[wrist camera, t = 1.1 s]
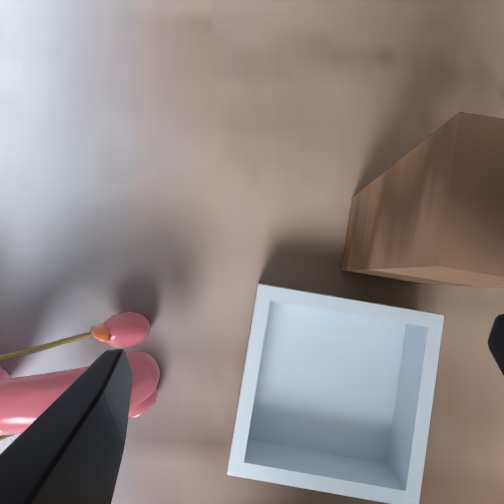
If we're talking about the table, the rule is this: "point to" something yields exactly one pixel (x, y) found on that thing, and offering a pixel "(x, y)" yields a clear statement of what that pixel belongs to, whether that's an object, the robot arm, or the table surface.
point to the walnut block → (435, 210)
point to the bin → (336, 395)
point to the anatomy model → (77, 375)
